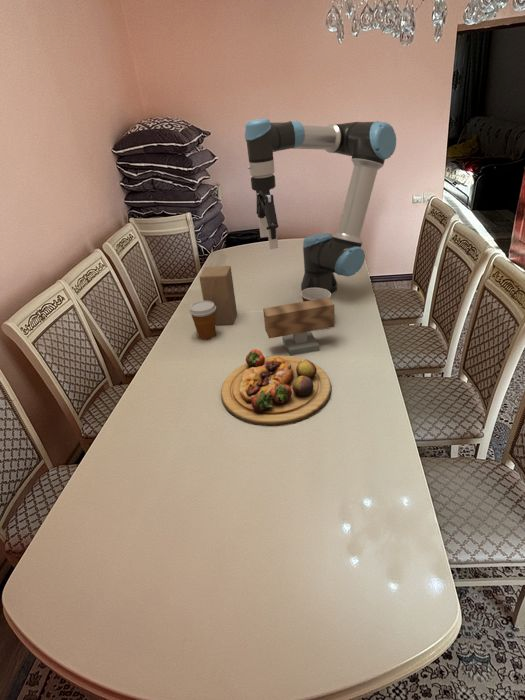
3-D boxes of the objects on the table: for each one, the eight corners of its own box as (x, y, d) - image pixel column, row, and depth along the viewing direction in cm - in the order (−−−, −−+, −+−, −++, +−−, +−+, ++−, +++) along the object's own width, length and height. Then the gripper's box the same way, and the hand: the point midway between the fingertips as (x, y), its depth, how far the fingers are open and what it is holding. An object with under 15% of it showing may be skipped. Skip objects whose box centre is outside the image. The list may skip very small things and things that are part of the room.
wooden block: (237, 313, 178) (230, 265, 168) (233, 325, 170) (226, 275, 160) (212, 314, 180) (204, 266, 170) (207, 326, 171) (198, 276, 161)
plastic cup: (333, 328, 160) (332, 297, 154) (302, 330, 161) (300, 299, 155) (330, 315, 169) (329, 285, 163) (301, 317, 170) (299, 287, 164)
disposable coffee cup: (189, 340, 163) (183, 310, 157) (202, 328, 170) (197, 299, 164) (212, 343, 159) (207, 312, 153) (224, 330, 166) (220, 301, 160)
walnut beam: (328, 319, 153) (328, 297, 149) (334, 326, 147) (334, 304, 143) (265, 330, 150) (263, 308, 146) (269, 338, 145) (266, 316, 141)
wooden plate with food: (215, 372, 143) (211, 350, 139) (312, 353, 147) (311, 331, 143) (229, 439, 116) (225, 415, 112) (347, 413, 120) (347, 389, 116)
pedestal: (310, 336, 157) (309, 319, 154) (319, 350, 148) (318, 332, 145) (282, 341, 156) (281, 324, 152) (289, 355, 147) (288, 338, 144)
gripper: (243, 171, 149) (250, 234, 160) (259, 184, 128) (266, 255, 139) (265, 168, 150) (271, 230, 161) (284, 180, 129) (289, 251, 140)
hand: (269, 242), depth 150 cm, fingers open, 13 cm apart
